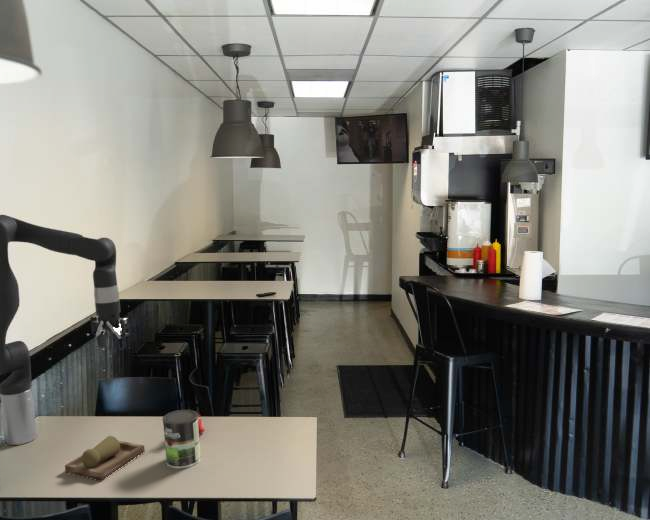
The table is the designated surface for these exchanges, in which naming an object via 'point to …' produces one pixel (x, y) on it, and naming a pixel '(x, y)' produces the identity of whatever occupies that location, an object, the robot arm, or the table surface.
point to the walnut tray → (106, 462)
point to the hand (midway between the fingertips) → (112, 347)
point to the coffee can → (181, 438)
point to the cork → (101, 451)
